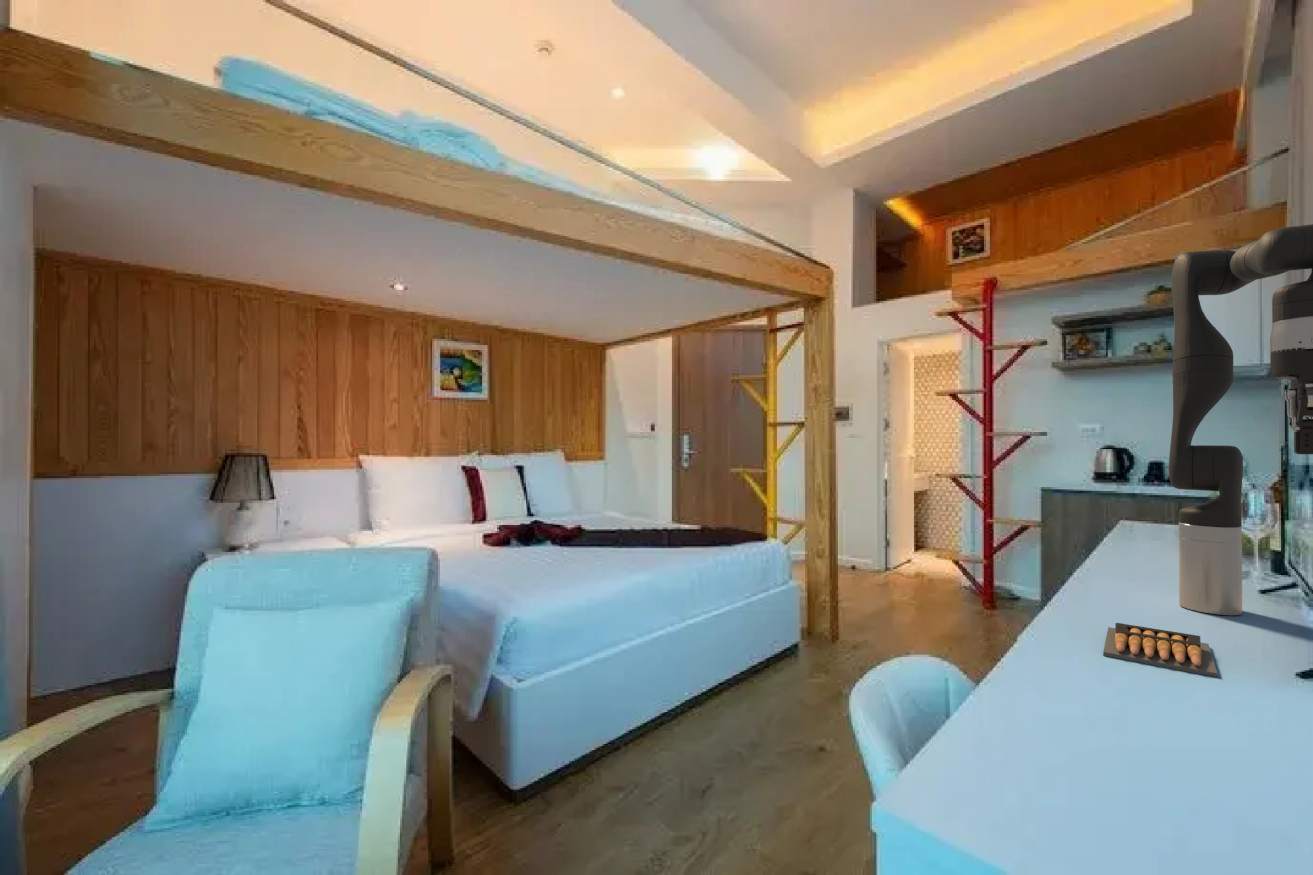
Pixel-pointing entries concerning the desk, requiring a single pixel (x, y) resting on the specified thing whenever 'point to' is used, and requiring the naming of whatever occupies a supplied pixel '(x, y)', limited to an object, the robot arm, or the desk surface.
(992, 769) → the desk surface
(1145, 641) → the ammunition clip
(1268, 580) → the desk surface
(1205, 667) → the mat
